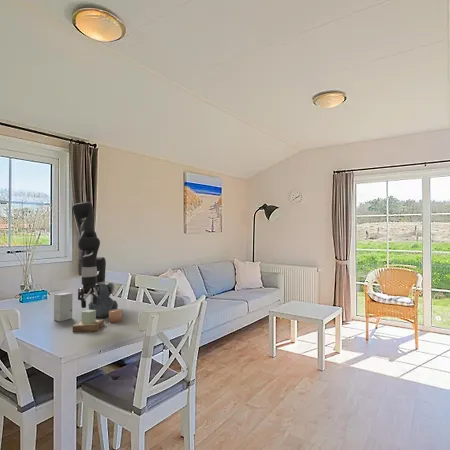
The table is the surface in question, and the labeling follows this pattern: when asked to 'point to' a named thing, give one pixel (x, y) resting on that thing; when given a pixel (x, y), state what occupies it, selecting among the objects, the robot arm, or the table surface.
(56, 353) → the table surface
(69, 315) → the skincare box
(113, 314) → the tan rounded block
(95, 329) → the walnut base
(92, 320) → the sage block
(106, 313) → the koala plush
